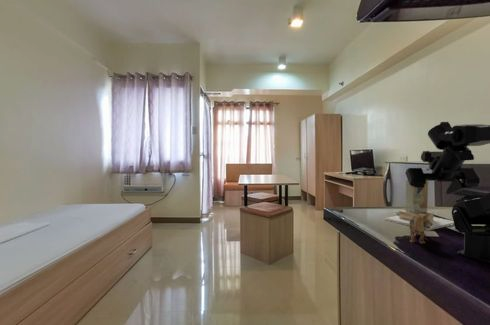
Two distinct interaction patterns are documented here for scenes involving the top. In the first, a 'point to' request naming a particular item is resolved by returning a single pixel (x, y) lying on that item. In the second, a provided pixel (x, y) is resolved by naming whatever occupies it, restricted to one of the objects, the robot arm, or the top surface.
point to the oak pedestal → (409, 215)
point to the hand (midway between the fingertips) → (431, 193)
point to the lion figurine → (419, 226)
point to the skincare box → (416, 199)
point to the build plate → (436, 221)
